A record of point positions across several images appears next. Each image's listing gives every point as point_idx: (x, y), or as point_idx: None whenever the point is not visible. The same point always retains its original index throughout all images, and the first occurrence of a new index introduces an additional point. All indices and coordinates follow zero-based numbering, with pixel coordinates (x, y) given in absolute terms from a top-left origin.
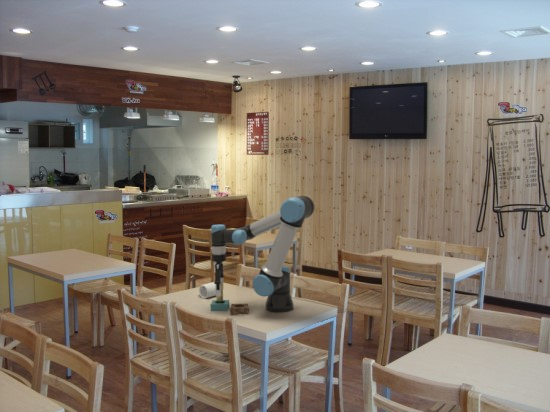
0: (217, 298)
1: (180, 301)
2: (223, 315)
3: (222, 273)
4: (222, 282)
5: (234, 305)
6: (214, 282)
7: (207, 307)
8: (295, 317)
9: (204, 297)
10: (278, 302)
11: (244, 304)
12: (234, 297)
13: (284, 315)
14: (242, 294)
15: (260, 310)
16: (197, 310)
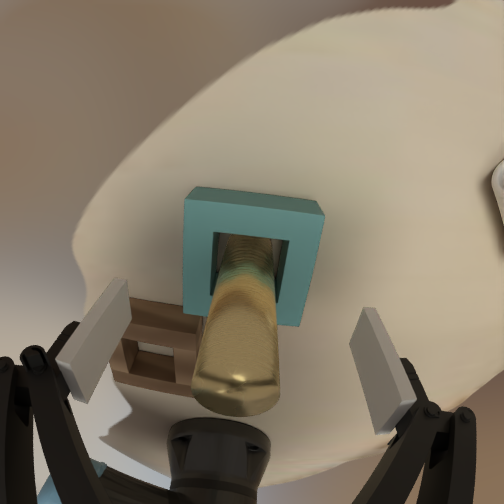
0: (223, 269)
1: (463, 19)
2: (102, 261)
3: (364, 488)
4: (368, 390)
5: (154, 343)
6: (21, 360)
7: (294, 162)
8: (121, 441)
9: (499, 168)
10: (169, 461)
11: (177, 383)
12: (450, 322)
13: (135, 433)
14: (471, 348)
15: (192, 403)
16: (223, 91)
